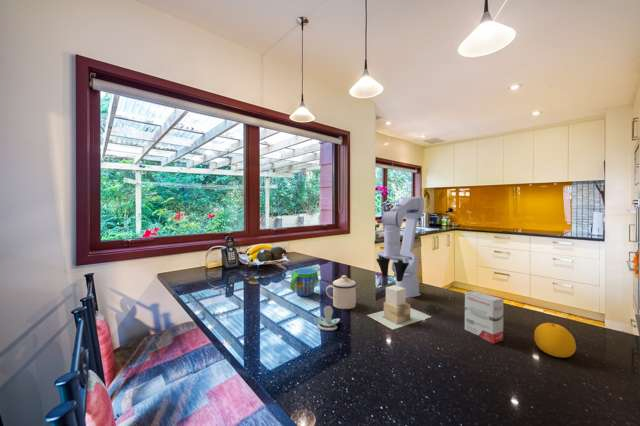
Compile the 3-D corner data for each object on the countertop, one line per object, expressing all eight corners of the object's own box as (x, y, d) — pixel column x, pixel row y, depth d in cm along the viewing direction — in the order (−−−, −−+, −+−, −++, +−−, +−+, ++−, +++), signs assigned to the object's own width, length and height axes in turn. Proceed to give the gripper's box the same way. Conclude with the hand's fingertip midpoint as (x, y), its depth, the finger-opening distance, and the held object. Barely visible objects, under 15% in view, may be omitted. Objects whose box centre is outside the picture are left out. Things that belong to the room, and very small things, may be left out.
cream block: (394, 299, 88) (394, 285, 88) (405, 303, 85) (405, 288, 85) (385, 302, 86) (385, 287, 86) (396, 306, 82) (396, 291, 82)
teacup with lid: (359, 303, 100) (358, 274, 100) (352, 312, 92) (352, 280, 91) (330, 299, 105) (330, 271, 104) (321, 307, 96) (321, 276, 96)
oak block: (396, 313, 89) (396, 298, 89) (410, 319, 84) (410, 304, 84) (383, 316, 86) (383, 302, 86) (397, 323, 81) (397, 308, 81)
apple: (580, 366, 60) (581, 334, 59) (536, 356, 64) (537, 326, 64) (570, 350, 66) (570, 321, 66) (531, 342, 71) (531, 315, 70)
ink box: (504, 340, 72) (504, 298, 71) (493, 344, 69) (493, 301, 69) (474, 327, 79) (474, 289, 79) (463, 331, 77) (463, 292, 77)
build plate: (404, 306, 96) (404, 304, 96) (431, 318, 86) (431, 316, 86) (366, 316, 88) (366, 315, 88) (392, 331, 77) (392, 329, 77)
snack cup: (310, 287, 121) (310, 266, 121) (326, 292, 113) (326, 269, 113) (283, 295, 110) (283, 272, 110) (299, 301, 103) (298, 276, 102)
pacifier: (337, 333, 77) (340, 323, 83) (337, 313, 77) (340, 304, 83) (314, 330, 79) (318, 321, 85) (313, 310, 78) (318, 303, 84)
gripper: (371, 241, 101) (371, 275, 101) (398, 245, 89) (398, 284, 89) (384, 240, 105) (384, 273, 105) (413, 244, 92) (412, 282, 92)
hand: (391, 278), depth 97 cm, fingers open, 7 cm apart
